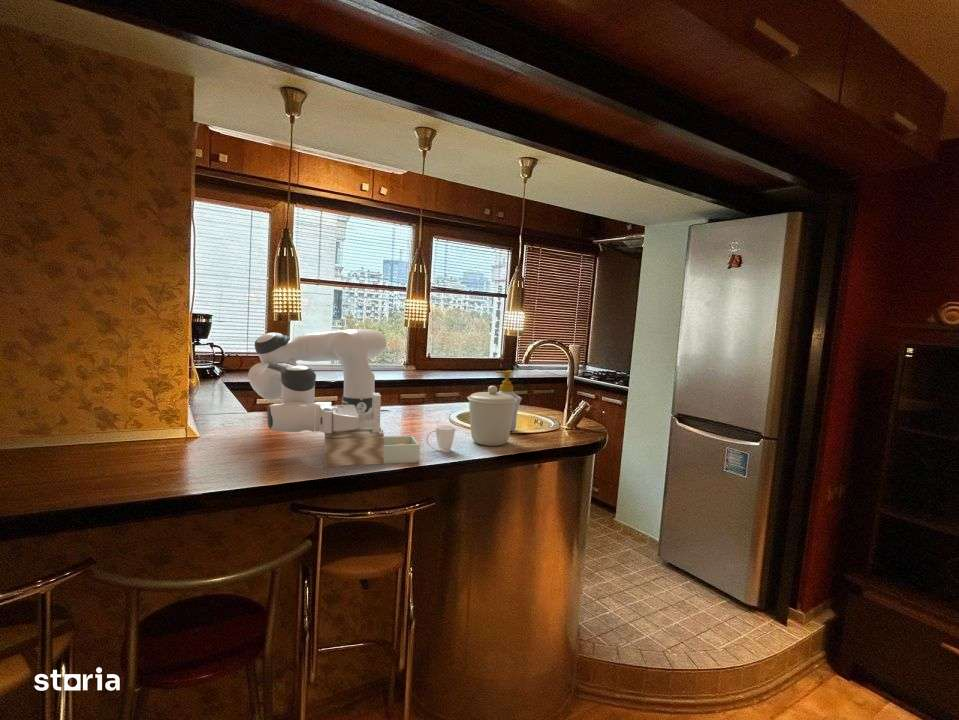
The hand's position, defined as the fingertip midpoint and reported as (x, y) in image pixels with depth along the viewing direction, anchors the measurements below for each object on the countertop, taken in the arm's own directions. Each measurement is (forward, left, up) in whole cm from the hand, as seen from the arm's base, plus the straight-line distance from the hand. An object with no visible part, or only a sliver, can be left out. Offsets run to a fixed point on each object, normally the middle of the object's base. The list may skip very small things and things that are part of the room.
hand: (372, 415), depth 152 cm
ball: (+1, +9, -11) cm, 14 cm away
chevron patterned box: (0, -5, -13) cm, 15 cm away
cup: (-4, +24, -14) cm, 28 cm away
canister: (-10, +45, -14) cm, 48 cm away
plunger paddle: (0, +1, -5) cm, 5 cm away
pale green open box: (+1, +9, -14) cm, 16 cm away
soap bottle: (-27, +59, -14) cm, 67 cm away
